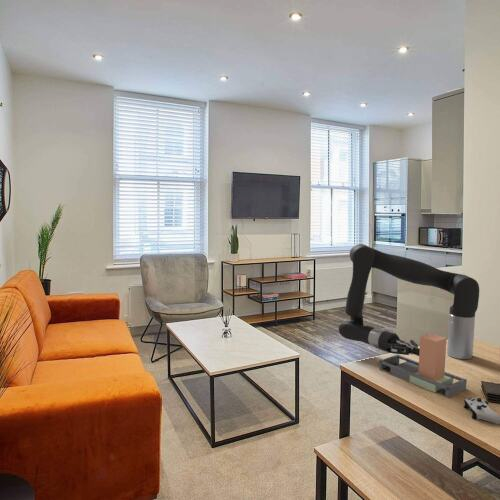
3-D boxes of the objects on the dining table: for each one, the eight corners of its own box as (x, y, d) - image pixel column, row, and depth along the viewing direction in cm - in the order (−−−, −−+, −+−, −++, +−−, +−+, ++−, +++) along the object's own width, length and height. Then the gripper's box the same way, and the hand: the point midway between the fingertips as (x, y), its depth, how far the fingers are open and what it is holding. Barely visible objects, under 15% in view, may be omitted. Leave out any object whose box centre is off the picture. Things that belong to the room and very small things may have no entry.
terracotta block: (428, 371, 143) (430, 333, 141) (444, 377, 138) (446, 338, 136) (418, 375, 139) (420, 336, 138) (434, 381, 134) (436, 341, 133)
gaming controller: (505, 422, 112) (488, 404, 112) (488, 435, 113) (470, 418, 114) (488, 402, 123) (472, 386, 123) (472, 415, 125) (456, 399, 125)
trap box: (397, 362, 156) (397, 354, 156) (466, 388, 134) (466, 379, 134) (378, 369, 150) (379, 360, 150) (448, 397, 128) (448, 388, 128)
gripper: (372, 333, 150) (413, 347, 136) (394, 327, 158) (435, 340, 143) (371, 352, 151) (412, 368, 137) (393, 345, 159) (434, 360, 144)
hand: (424, 353), depth 140 cm, fingers closed
